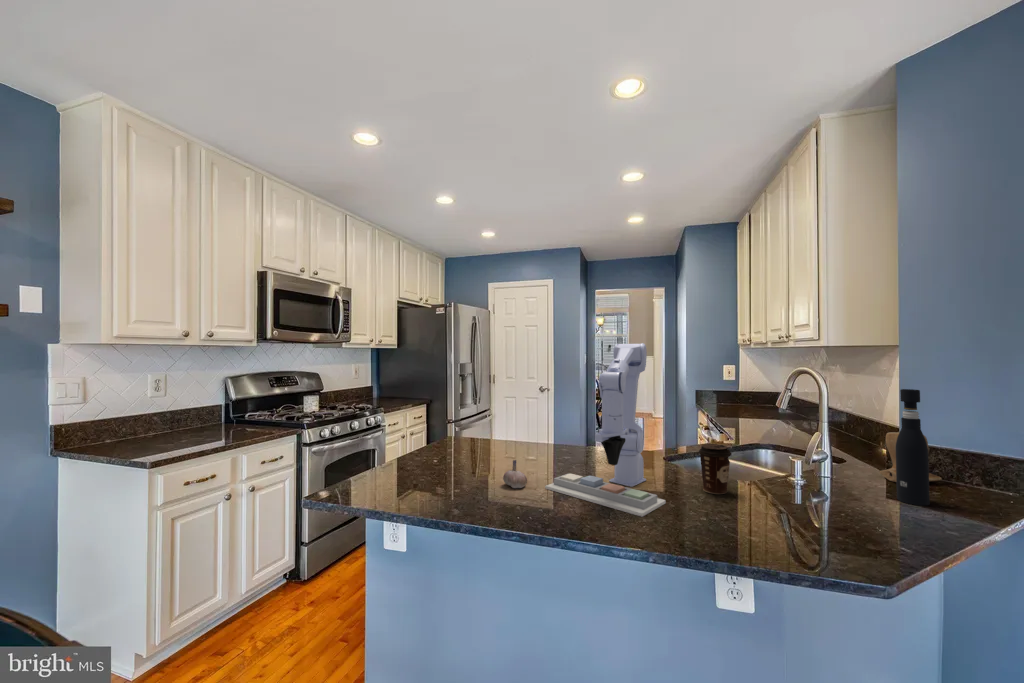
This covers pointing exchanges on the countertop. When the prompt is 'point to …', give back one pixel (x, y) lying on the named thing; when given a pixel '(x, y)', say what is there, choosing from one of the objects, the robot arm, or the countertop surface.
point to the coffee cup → (715, 468)
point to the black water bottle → (912, 454)
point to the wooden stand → (891, 447)
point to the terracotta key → (613, 488)
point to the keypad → (607, 497)
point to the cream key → (572, 477)
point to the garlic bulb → (515, 477)
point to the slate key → (591, 481)
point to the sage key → (636, 494)
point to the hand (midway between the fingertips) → (612, 464)
